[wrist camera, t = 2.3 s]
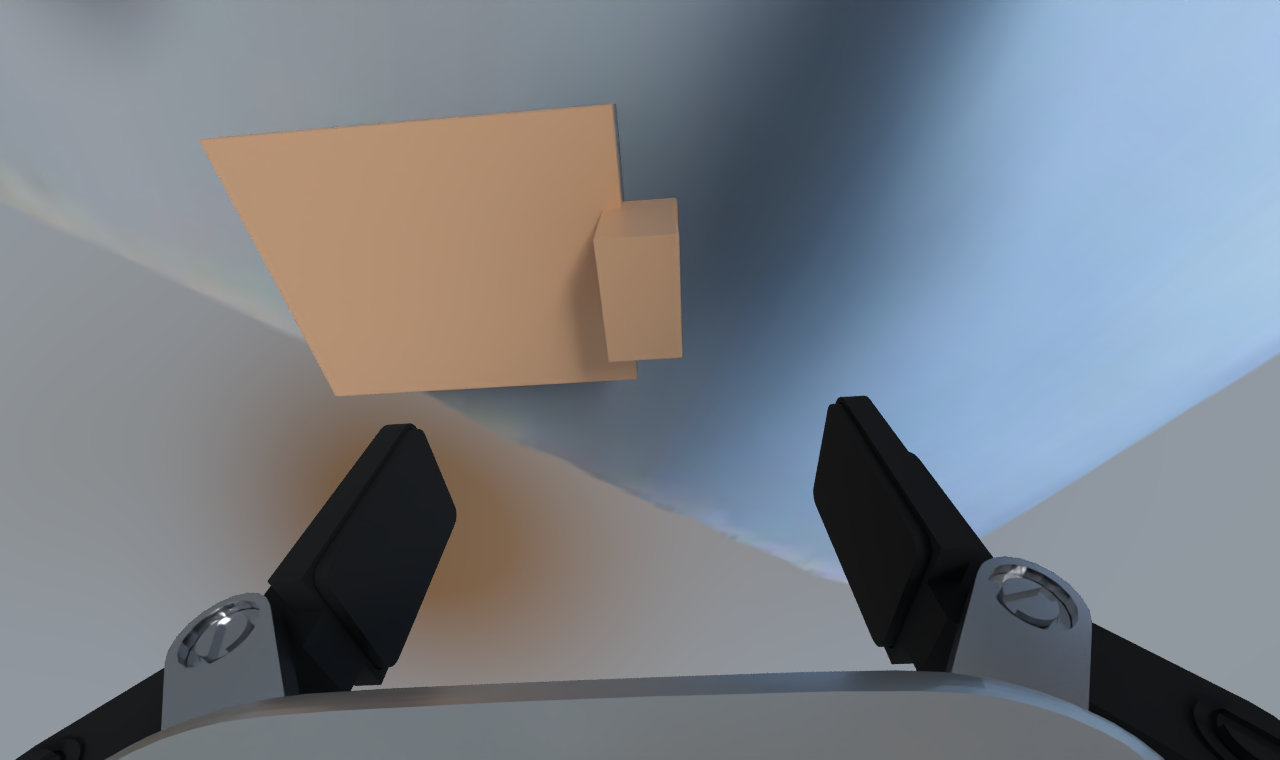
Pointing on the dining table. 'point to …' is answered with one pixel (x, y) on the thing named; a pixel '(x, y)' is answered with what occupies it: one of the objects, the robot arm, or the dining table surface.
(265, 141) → the lid
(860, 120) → the dining table surface
